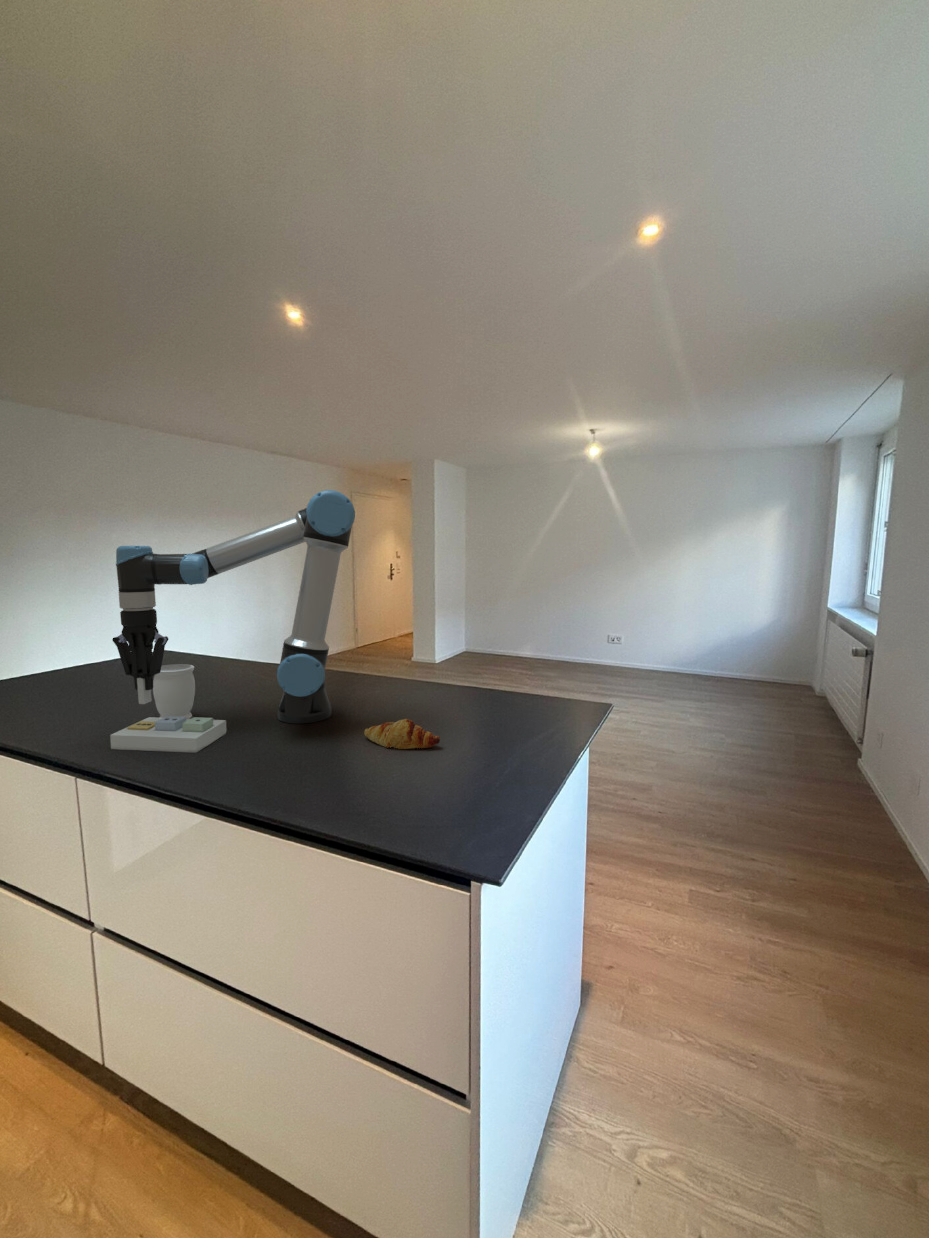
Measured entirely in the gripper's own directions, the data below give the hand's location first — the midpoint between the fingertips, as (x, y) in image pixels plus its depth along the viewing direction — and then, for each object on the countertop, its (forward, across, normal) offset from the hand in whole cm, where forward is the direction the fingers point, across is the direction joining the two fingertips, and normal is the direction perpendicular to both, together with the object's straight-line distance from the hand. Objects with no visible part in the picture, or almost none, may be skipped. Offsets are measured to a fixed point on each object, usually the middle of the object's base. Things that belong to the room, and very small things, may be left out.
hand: (145, 702), depth 129 cm
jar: (+10, +3, -17) cm, 20 cm away
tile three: (+9, +1, 0) cm, 9 cm away
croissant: (+12, -64, -5) cm, 65 cm away
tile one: (+7, -13, 0) cm, 15 cm away
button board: (+10, -6, 0) cm, 12 cm away
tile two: (+7, -6, 0) cm, 10 cm away
